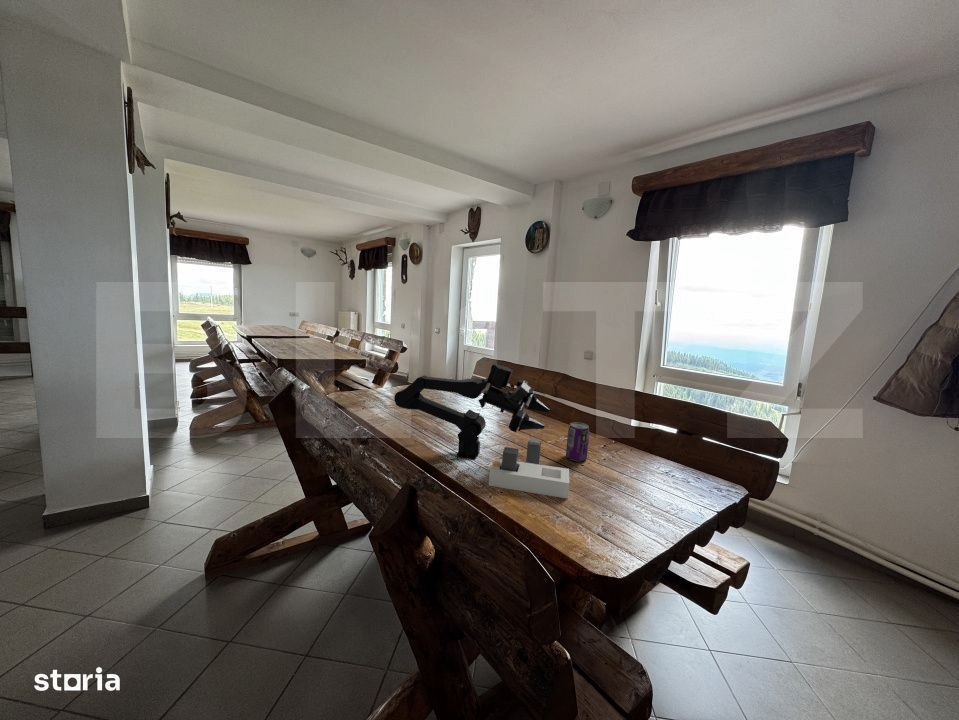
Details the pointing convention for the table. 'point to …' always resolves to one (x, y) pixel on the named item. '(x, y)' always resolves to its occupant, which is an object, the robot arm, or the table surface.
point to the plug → (533, 451)
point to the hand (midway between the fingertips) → (547, 418)
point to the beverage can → (577, 441)
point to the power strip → (528, 476)
